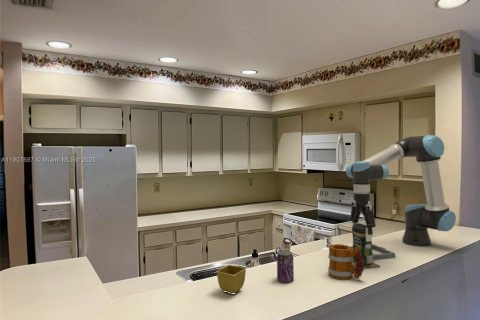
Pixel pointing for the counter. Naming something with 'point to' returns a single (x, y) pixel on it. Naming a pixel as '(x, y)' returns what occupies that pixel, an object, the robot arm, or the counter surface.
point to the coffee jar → (362, 242)
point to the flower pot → (231, 278)
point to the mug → (345, 262)
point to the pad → (372, 265)
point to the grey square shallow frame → (385, 252)
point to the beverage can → (285, 266)
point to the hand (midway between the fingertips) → (362, 238)
